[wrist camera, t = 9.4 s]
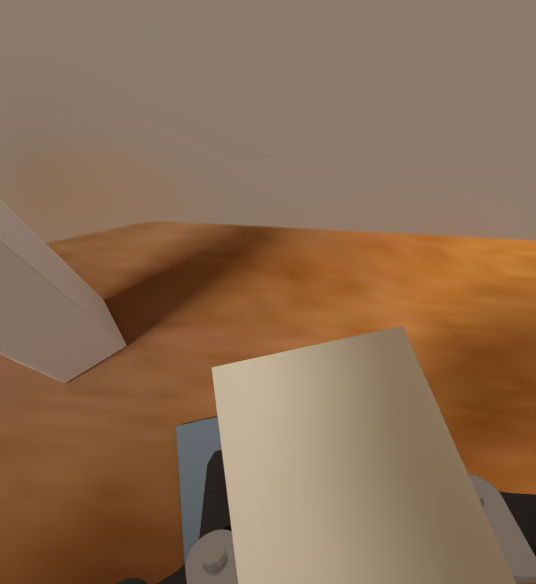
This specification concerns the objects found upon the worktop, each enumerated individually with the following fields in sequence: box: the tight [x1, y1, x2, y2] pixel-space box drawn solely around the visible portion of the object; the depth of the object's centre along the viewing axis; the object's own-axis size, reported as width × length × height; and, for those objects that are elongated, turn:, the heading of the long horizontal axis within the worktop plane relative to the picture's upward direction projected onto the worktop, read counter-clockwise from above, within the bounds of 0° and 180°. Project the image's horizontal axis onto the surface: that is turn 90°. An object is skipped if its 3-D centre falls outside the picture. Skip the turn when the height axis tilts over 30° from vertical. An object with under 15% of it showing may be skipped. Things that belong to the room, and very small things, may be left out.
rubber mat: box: [176, 417, 222, 564], centre depth 25 cm, size 18×13×1 cm
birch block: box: [212, 326, 516, 584], centre depth 10 cm, size 4×6×10 cm, turn 12°
